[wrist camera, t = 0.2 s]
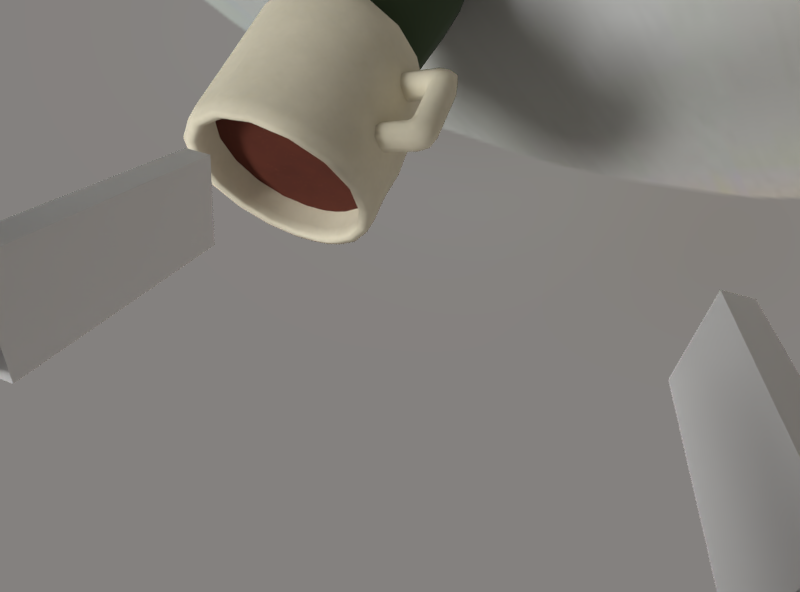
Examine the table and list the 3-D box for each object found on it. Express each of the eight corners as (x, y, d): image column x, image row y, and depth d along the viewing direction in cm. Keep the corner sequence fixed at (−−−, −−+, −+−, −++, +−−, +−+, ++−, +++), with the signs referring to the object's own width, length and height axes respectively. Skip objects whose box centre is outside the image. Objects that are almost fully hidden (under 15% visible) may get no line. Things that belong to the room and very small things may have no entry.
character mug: (347, 44, 29) (236, 236, 24) (271, -96, 23) (107, 119, 18) (542, 12, 23) (449, 257, 18) (503, -182, 17) (354, 96, 13)
